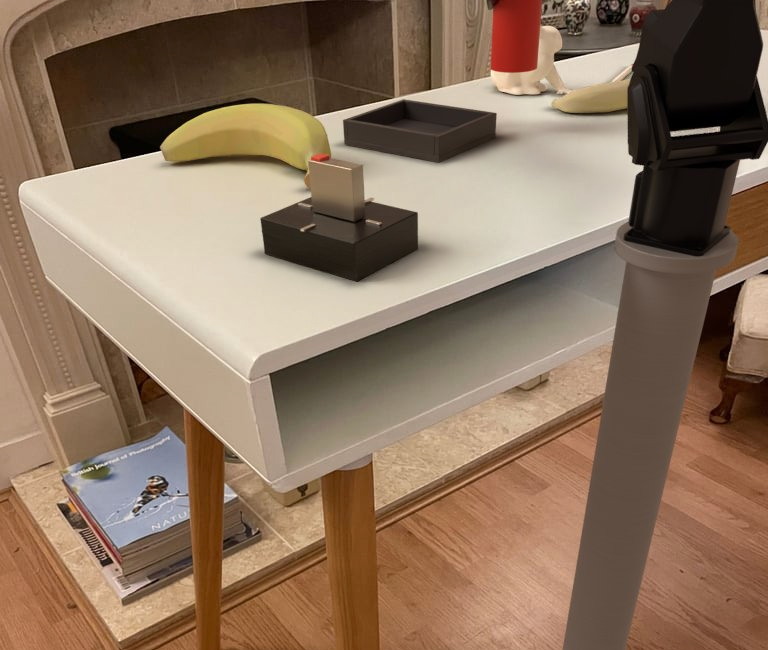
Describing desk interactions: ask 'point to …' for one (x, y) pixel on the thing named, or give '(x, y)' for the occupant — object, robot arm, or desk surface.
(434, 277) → the desk surface
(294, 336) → the desk surface
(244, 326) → the desk surface
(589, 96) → the fruit
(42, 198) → the desk surface
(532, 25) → the ketchup bottle
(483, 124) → the tray
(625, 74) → the pale wooden rod
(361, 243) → the black rectangular block
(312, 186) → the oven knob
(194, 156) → the banana
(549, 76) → the rabbit figurine
